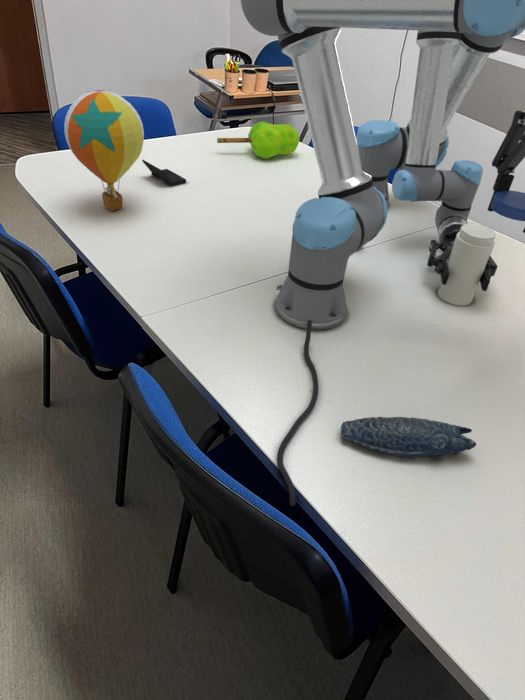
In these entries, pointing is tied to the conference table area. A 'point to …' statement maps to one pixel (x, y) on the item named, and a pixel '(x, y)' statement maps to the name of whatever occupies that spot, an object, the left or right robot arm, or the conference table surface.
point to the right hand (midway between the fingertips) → (466, 282)
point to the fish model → (407, 436)
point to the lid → (509, 204)
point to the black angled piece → (165, 175)
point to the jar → (467, 263)
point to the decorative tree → (269, 139)
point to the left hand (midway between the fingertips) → (511, 220)
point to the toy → (105, 138)
